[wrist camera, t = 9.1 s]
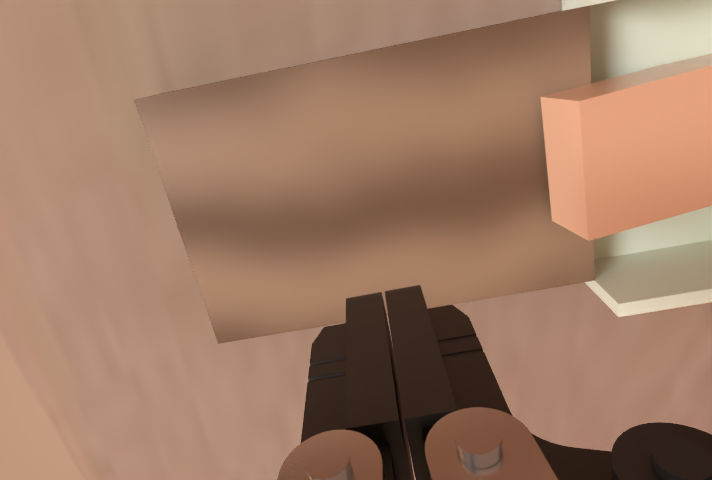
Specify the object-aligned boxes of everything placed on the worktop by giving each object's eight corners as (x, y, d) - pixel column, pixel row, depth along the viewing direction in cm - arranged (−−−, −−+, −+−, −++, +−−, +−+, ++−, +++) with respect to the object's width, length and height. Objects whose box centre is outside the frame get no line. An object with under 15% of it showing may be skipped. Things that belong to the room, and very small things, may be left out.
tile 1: (540, 96, 18) (579, 101, 16) (664, 63, 18) (720, 63, 16) (552, 220, 20) (588, 241, 18) (665, 188, 20) (715, 204, 18)
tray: (561, -6, 19) (619, -22, 15) (798, -56, 19) (929, -87, 14) (571, 268, 24) (618, 317, 19) (764, 236, 23) (856, 278, 19)
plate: (158, 94, 21) (134, 100, 18) (561, 10, 20) (589, 5, 17) (231, 315, 25) (218, 343, 22) (571, 257, 24) (594, 280, 21)
